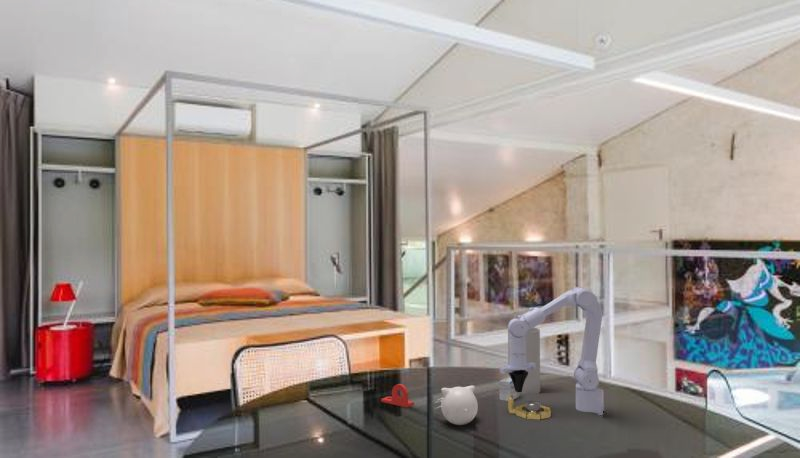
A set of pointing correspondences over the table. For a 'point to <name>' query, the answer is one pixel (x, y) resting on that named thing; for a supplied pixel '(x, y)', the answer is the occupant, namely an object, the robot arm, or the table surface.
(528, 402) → the grey shiny rounded piece
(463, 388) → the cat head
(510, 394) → the medicine box
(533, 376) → the cylinder vase
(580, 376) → the robot arm
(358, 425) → the table surface
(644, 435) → the table surface
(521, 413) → the gold octagonal ring
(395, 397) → the bracket
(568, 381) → the table surface
